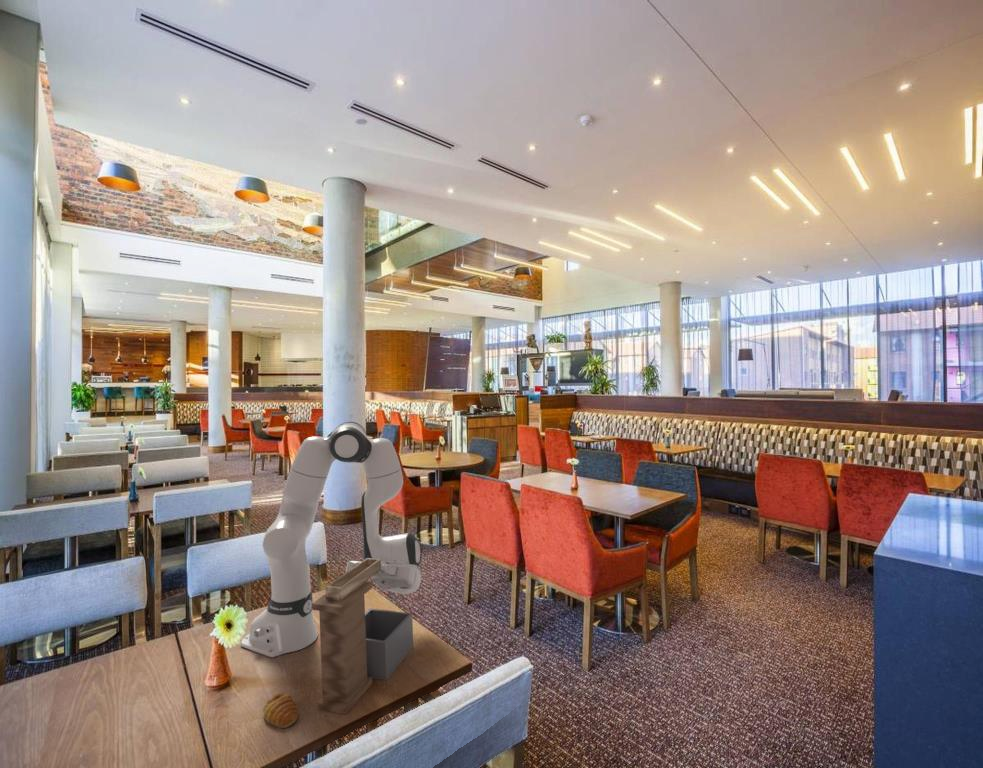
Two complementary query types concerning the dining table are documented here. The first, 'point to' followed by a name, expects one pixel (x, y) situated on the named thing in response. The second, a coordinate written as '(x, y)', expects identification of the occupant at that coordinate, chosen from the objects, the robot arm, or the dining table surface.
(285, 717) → the pastry
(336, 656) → the walnut pedestal
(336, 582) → the birch crate
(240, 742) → the dining table surface
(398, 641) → the charcoal crate
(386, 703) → the dining table surface
